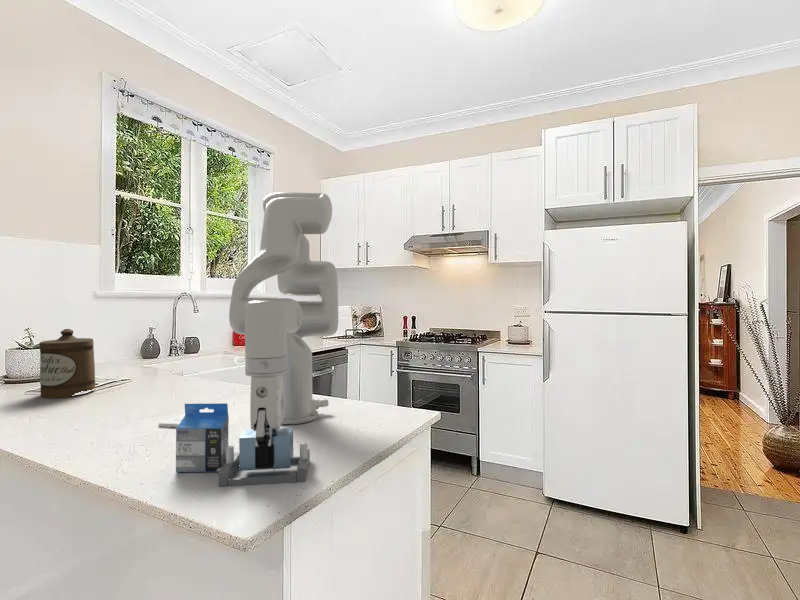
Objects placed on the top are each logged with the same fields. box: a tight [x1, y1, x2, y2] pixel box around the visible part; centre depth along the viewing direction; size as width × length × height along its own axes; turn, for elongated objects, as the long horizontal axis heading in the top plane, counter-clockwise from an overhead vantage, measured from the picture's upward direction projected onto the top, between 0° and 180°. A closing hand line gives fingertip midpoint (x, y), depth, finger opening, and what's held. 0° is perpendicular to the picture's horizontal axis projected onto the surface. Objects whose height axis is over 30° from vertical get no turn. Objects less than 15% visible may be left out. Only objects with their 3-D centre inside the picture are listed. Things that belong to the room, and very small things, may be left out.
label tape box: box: [175, 402, 230, 473], centre depth 84 cm, size 9×4×12 cm, turn 90°
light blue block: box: [238, 426, 294, 472], centre depth 82 cm, size 5×9×6 cm, turn 97°
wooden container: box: [39, 328, 96, 399], centre depth 148 cm, size 15×15×22 cm
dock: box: [217, 442, 311, 487], centre depth 82 cm, size 10×15×5 cm, turn 97°
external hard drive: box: [158, 409, 214, 428], centre depth 116 cm, size 2×8×12 cm
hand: (267, 460), depth 82 cm, fingers closed on light blue block, 5 cm apart
